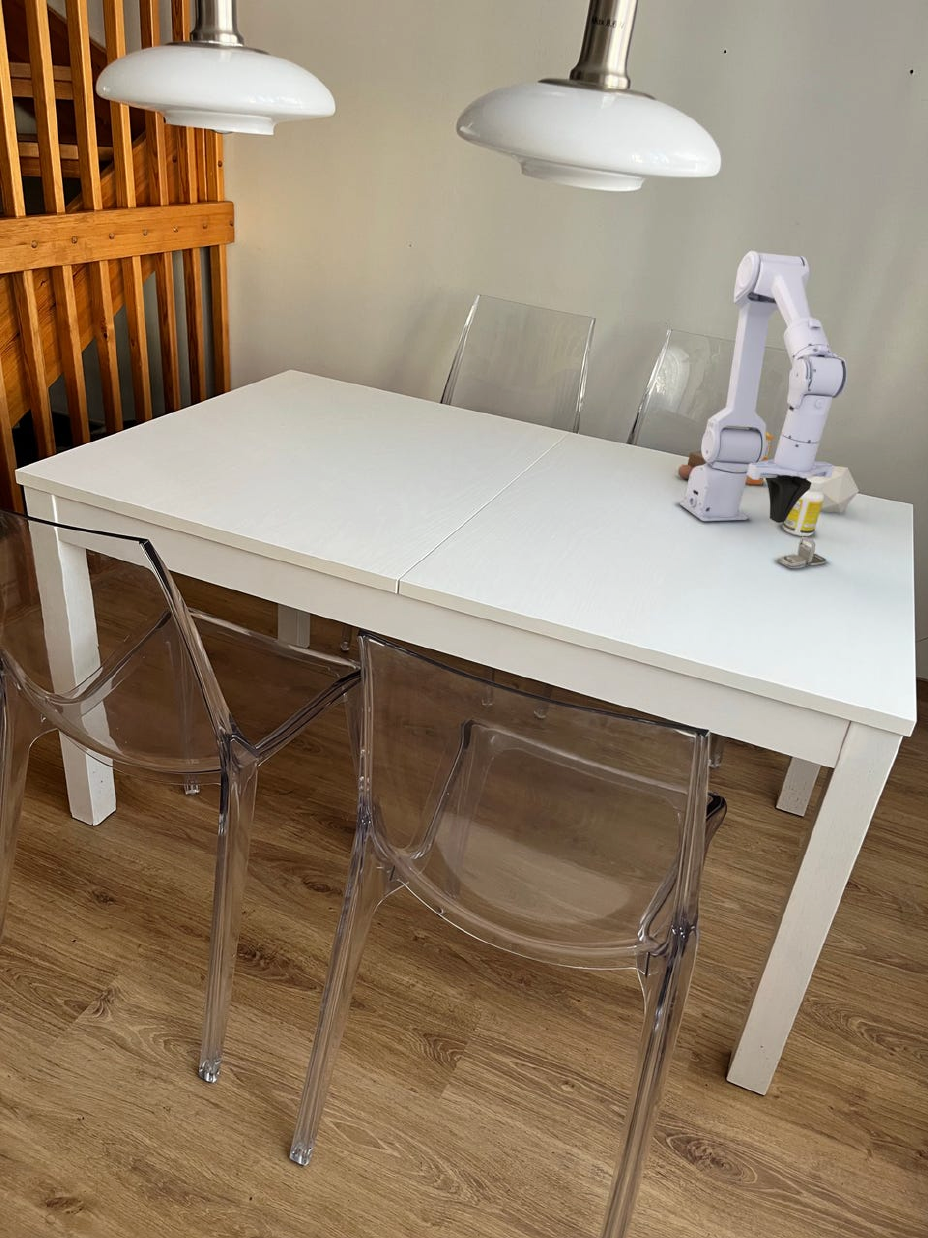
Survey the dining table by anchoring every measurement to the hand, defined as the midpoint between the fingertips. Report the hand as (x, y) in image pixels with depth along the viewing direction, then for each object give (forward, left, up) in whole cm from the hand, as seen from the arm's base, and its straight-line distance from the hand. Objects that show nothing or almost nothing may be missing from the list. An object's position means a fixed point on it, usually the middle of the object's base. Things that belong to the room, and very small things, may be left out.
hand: (776, 520), depth 152 cm
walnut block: (+12, +37, -8) cm, 40 cm away
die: (+29, +21, -8) cm, 36 cm away
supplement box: (+22, +35, -8) cm, 42 cm away
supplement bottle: (+16, +12, -8) cm, 21 cm away
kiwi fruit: (+9, +38, -7) cm, 40 cm away
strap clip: (+8, 0, -8) cm, 11 cm away
